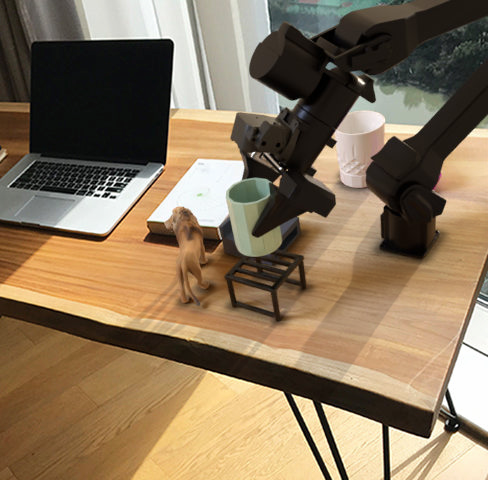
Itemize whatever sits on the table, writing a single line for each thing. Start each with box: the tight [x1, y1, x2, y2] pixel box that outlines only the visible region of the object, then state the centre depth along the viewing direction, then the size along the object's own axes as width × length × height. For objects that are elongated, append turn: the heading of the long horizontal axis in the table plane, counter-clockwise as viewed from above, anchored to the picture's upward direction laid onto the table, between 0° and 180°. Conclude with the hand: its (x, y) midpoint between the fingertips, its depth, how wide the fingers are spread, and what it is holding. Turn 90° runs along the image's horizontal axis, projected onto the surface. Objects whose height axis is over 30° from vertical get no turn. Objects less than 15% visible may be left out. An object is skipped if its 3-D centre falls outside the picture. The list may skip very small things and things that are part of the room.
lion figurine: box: [164, 206, 210, 307], centre depth 98 cm, size 15×5×9 cm, turn 6°
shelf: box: [218, 215, 302, 266], centre depth 102 cm, size 9×9×5 cm
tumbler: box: [225, 178, 282, 257], centre depth 86 cm, size 6×6×8 cm
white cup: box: [333, 110, 386, 189], centre depth 109 cm, size 8×8×10 cm
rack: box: [224, 249, 308, 322], centre depth 92 cm, size 8×8×6 cm
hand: (245, 223), depth 87 cm, fingers closed on tumbler, 6 cm apart
